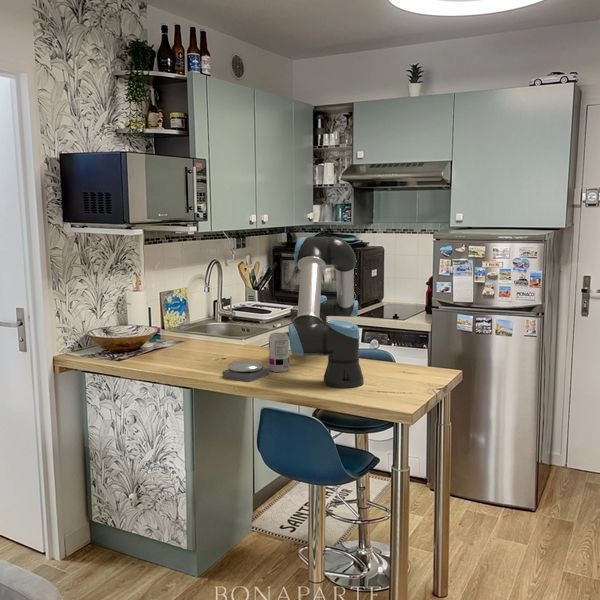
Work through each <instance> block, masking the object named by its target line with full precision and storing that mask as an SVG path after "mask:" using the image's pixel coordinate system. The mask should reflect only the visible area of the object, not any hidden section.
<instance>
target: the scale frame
mask: <svg viewBox="0 0 600 600" xmlns="http://www.w3.org/2000/svg"><path fill="white" fill-rule="evenodd" d="M269 371H270V369H269V367H265V366H264V368H263V369H261V370H258V371H252V372H251V373H242V372H236V371H231V370H229V369H228V368H227V369H225V370H223V371H222V379H230V380H235V381H240V382H241V381H242V382H249V383H250V382H254V381H255V380H258V379H261V378H263V377H266V376H268V375H269V374H270V372H269ZM260 377H261V378H260ZM253 380H254V381H253Z"/></svg>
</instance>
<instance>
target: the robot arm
mask: <svg viewBox="0 0 600 600" xmlns="http://www.w3.org/2000/svg"><path fill="white" fill-rule="evenodd" d="M293 255H294V256H293V260H294V265H296V266H297V268H298V269H299V271H300V277H299V289H298V290H299V291H298V301H297V302H298V304H297V316H295V317H294V318H293V321H292V323H290V324H288V331H286V332H284V333H287V335H288V337H289V350H290V353H291V354H293V355H294V356H295V355H296V356H298V355H299V356H302V357H304V356H327V359H328V360H327V365H326V367H325V371H324V375H323V384H324V385H326V386H327V387H332V388H339V389H341V388H342V389H343V388H344V389H346V388H356V387H360V386H362V385H364V381H365V379H364V375H363V373H362V368H361V365H360V337H361V336H360V329H359V326H358V325H357V324H356V323H353V322H351V321H346V320H341V319H339V320H338V319H336V320H334V319H332V320H329V321H327V320H328V319H327V317H347V318H350V317H357V316H358V315H359V301H358V300H355V285H354V284H355V282H354V279H355V273H354V271H355V270H354V269H355V268H356V266H357V258H356V254H355V252H354V250H353V248H352V247H351V245H350V244H349V243H348V242H347V241H346V240H344V239H342V238H341V237H337V236H310V235H309V236H308V235H307V236H303V237H302V236H301V237H299V238H298V239H297V241H296V243H295V246H294V254H293ZM327 266H333V268H334V269H335V277H336V278H335V279H336V299H328V298H327V295H322V294H321V293H322V280H323V279H322V276H323V275H322V274H323V272H324V271H325V270H326V267H327Z"/></svg>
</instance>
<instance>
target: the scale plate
mask: <svg viewBox="0 0 600 600" xmlns="http://www.w3.org/2000/svg"><path fill="white" fill-rule="evenodd" d="M264 367H265V366H264V363H263V361H258V360H247V359H246V360H237V361H236V360H235V361H232V362H229V363H228V364H227V369H229V370H231V371H236V372H242V373H251V372H252V371H258V370H261V369H263V368H264Z"/></svg>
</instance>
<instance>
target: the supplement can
mask: <svg viewBox="0 0 600 600" xmlns="http://www.w3.org/2000/svg"><path fill="white" fill-rule="evenodd" d="M268 368H269V371H270V372H272V371H273V373H284V371H285V372H287V370H288V371H289V369H290V341H289V337H288V335H287V333H285V332H272V333H270V334H269V337H268Z"/></svg>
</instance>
